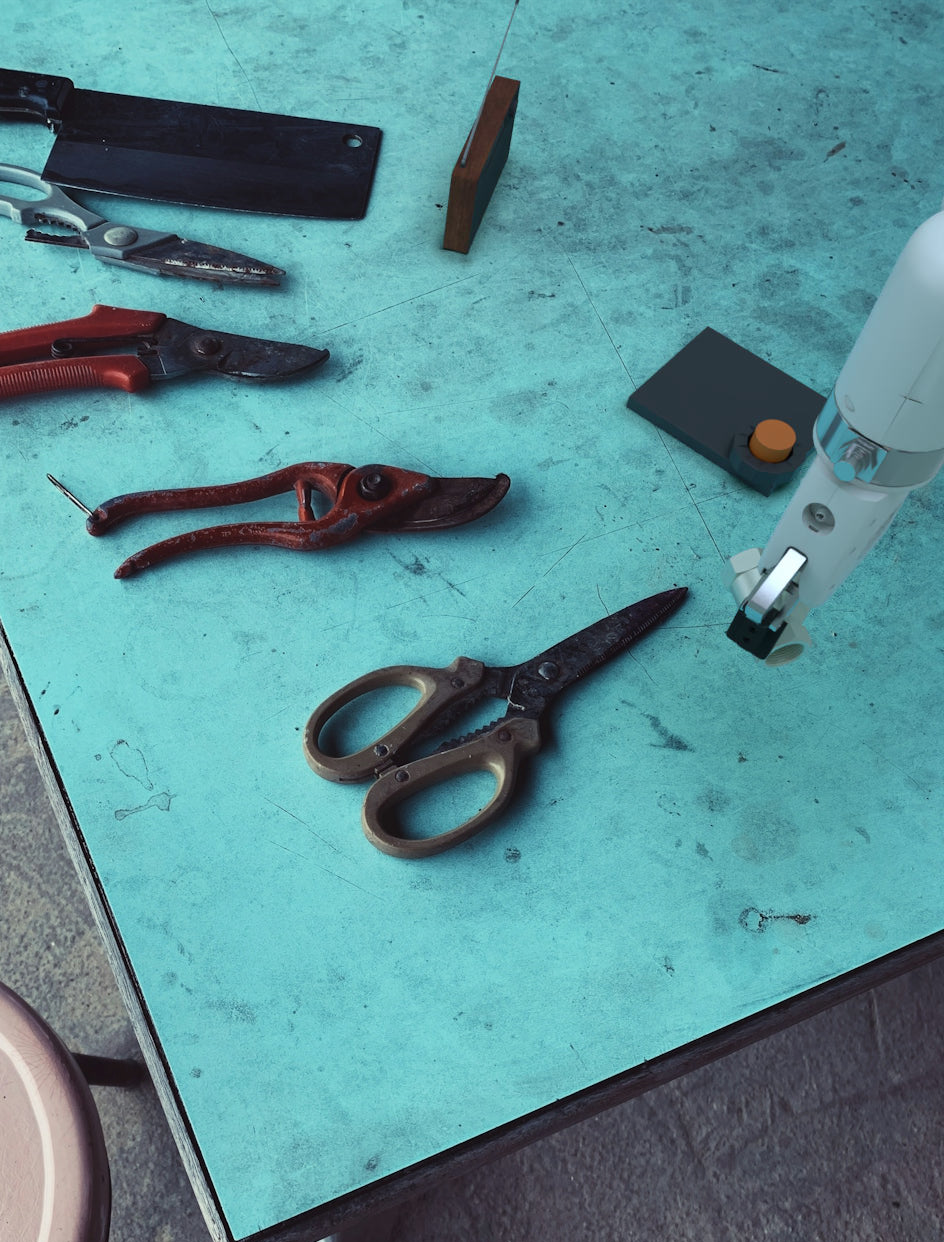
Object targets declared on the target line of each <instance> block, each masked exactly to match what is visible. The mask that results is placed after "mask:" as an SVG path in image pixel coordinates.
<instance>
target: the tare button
mask: <svg viewBox="0 0 944 1242" xmlns="http://www.w3.org/2000/svg"><path fill="white" fill-rule="evenodd" d="M795 440H796V435H795V432H794V430H793V429H792V428H791V427H790V426H789V425H788V424H786V423H784V422H782V421H779V420H765V421H763V422H761V423H760V424H758V426H757V427H756V429H755V431H754V434H753V436H752V438H751V440H750V443H749V448H750V451H751V453H752V454H753V455H754V456H755V457H756V458H757V459H759V460H761V461H763V462H767V463H779V462H782V461H784V460H785V459H786V458H787V457H788V455H789V453H790V451H791V449H792V447H793V445H794V443H795Z"/></svg>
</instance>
